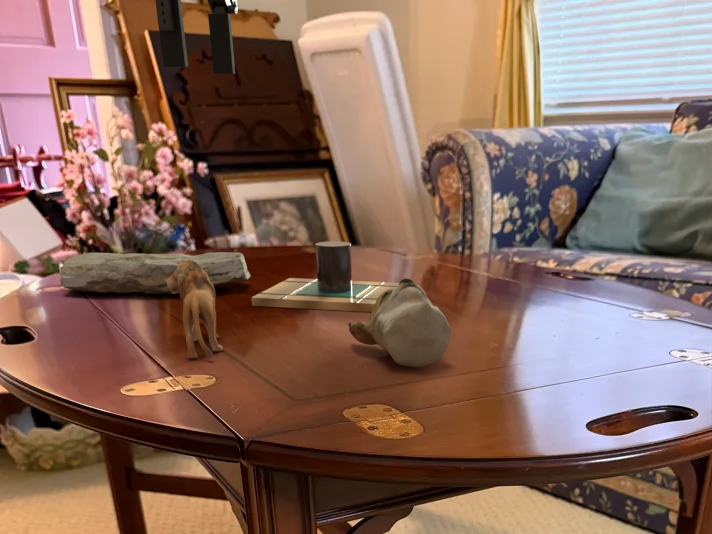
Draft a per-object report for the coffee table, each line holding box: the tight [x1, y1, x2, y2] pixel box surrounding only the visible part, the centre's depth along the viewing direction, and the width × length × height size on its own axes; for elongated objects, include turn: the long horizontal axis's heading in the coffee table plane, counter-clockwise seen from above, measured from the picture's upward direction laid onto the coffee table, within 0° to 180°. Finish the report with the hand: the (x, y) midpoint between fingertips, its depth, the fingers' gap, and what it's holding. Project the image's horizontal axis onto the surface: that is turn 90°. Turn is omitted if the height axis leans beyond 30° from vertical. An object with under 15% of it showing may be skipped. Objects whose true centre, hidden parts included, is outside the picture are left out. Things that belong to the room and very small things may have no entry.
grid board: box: [251, 277, 400, 313], centre depth 114 cm, size 20×16×1 cm
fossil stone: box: [59, 251, 251, 295], centre depth 118 cm, size 28×15×5 cm, turn 90°
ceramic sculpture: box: [348, 278, 452, 368], centre depth 84 cm, size 11×9×15 cm
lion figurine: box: [165, 259, 224, 359], centre depth 87 cm, size 15×5×9 cm, turn 22°
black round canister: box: [315, 240, 353, 293], centre depth 112 cm, size 5×5×6 cm
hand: (201, 70), depth 94 cm, fingers open, 13 cm apart
